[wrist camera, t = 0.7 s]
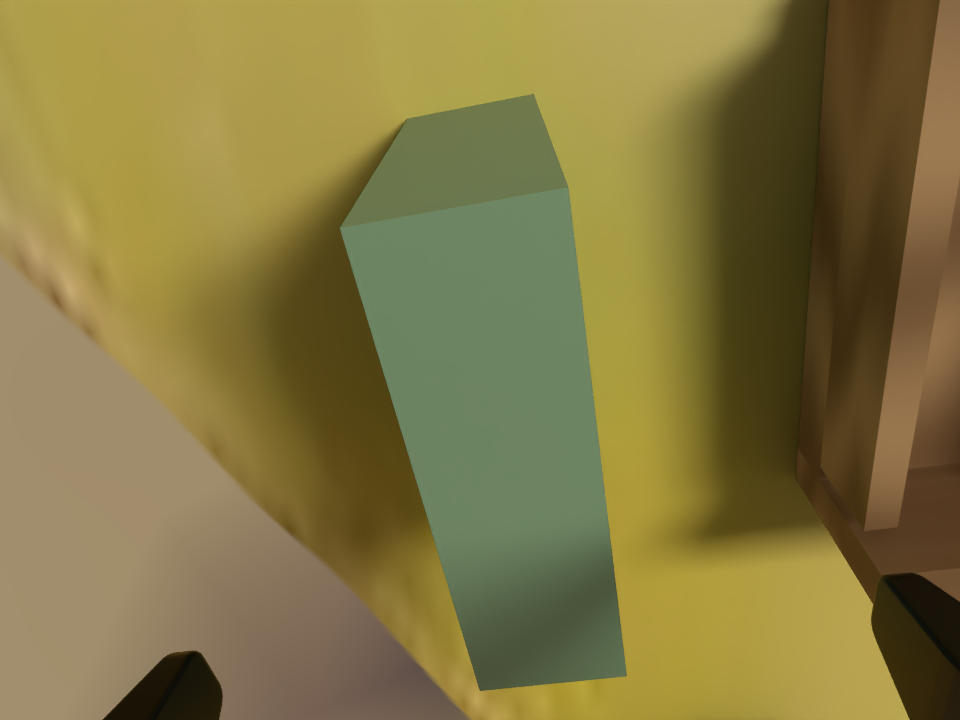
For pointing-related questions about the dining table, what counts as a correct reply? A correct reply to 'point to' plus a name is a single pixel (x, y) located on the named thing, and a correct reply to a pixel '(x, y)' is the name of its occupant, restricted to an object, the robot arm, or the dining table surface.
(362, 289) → the green book
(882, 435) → the book rack
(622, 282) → the dining table surface
